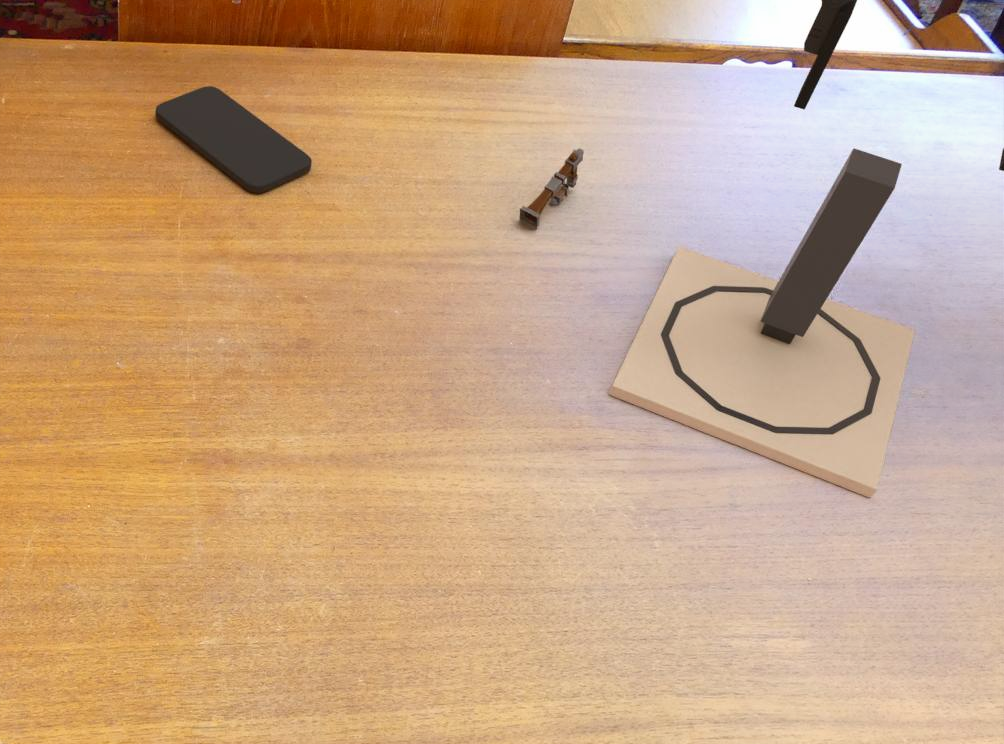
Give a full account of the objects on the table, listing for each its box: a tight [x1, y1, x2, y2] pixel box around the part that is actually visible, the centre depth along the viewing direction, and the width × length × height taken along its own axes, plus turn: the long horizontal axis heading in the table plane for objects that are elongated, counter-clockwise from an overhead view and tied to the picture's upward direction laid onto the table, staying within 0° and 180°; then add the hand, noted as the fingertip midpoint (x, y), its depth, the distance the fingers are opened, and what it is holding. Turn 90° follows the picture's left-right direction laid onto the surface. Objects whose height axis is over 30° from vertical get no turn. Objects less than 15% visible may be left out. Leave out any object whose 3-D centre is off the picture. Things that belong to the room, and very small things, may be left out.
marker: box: [761, 147, 902, 344], centre depth 84 cm, size 3×3×15 cm
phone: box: [155, 85, 313, 194], centre depth 101 cm, size 7×1×15 cm
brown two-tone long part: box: [518, 147, 585, 230], centre depth 98 cm, size 2×8×4 cm, turn 140°
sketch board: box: [608, 245, 916, 499], centre depth 88 cm, size 20×20×1 cm
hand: (902, 130), depth 76 cm, fingers open, 13 cm apart
